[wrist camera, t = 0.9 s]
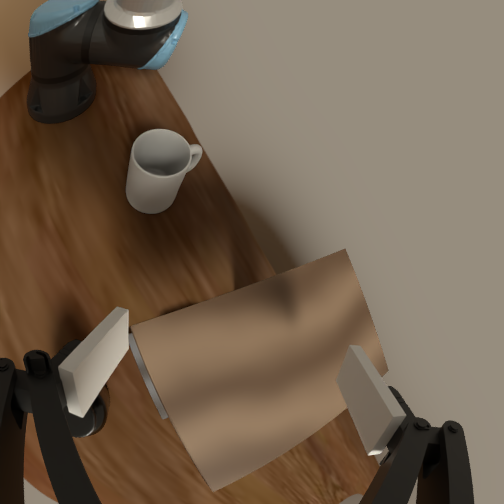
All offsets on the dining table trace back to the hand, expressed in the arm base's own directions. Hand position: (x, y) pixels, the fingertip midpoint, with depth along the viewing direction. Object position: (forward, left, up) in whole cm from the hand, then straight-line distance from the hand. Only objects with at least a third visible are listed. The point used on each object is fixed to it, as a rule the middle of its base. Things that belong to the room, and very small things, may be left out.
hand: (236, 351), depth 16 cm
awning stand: (+3, +5, -26) cm, 27 cm away
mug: (-24, +7, -26) cm, 37 cm away
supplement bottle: (+3, -14, -26) cm, 30 cm away
